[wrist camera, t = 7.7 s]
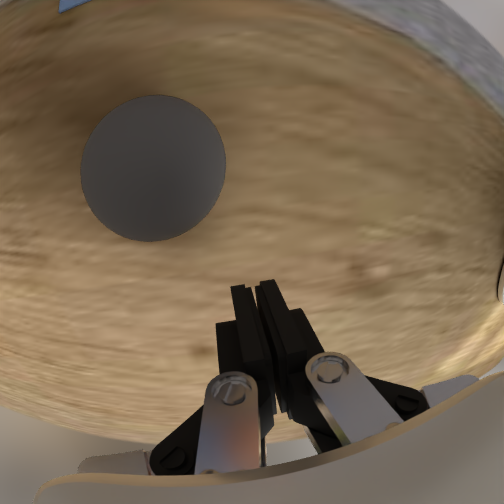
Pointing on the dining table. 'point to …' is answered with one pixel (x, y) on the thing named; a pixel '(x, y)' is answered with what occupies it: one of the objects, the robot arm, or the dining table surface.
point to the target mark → (70, 4)
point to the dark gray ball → (153, 168)
